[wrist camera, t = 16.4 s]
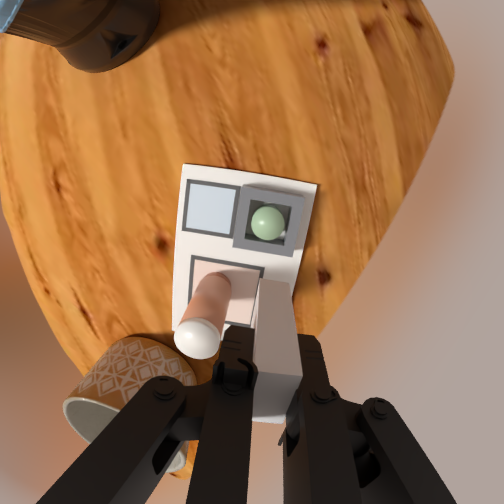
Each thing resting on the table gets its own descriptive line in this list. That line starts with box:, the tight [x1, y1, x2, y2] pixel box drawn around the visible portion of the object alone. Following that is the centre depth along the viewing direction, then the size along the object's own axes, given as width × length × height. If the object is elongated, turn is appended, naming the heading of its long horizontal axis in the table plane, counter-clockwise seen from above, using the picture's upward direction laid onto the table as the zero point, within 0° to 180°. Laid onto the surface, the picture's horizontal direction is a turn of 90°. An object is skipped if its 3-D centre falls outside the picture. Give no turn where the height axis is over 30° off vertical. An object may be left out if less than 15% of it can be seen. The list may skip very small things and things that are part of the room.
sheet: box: [172, 164, 317, 341], centre depth 35 cm, size 16×24×1 cm, turn 171°
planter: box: [63, 337, 197, 473], centre depth 36 cm, size 19×19×16 cm
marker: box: [174, 272, 232, 359], centre depth 30 cm, size 4×4×12 cm
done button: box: [251, 204, 285, 240], centre depth 31 cm, size 4×4×2 cm
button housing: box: [232, 185, 305, 257], centre depth 32 cm, size 7×7×2 cm
